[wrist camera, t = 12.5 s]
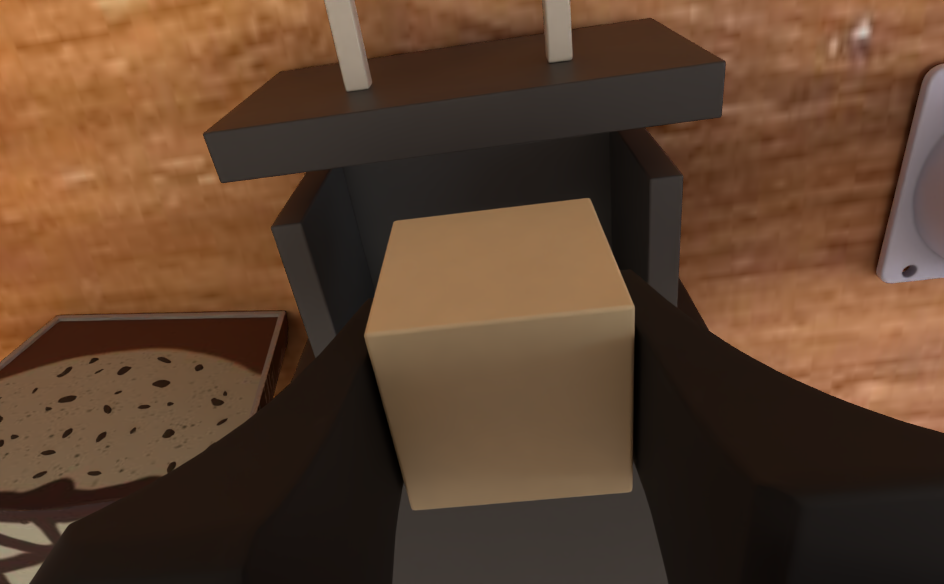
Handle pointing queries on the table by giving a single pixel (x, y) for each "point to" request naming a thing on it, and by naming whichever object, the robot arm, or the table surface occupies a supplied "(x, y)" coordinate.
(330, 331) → the dark drawer with handle
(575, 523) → the dark drawer cabinet
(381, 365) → the block
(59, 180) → the table surface
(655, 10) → the table surface
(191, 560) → the robot arm
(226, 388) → the food container
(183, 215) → the table surface
